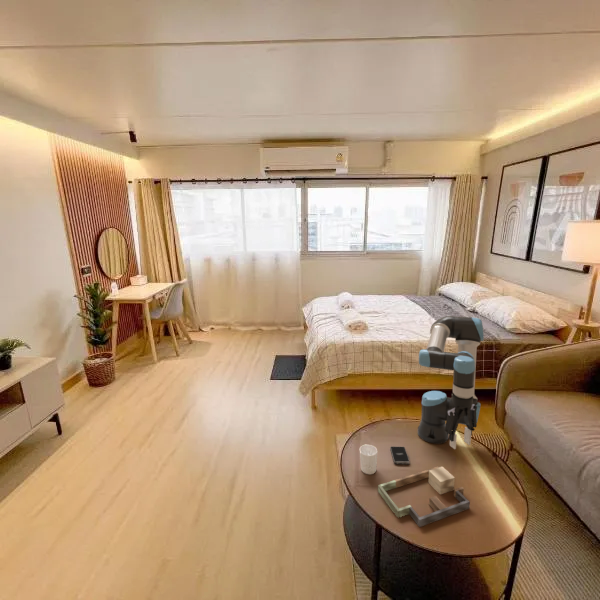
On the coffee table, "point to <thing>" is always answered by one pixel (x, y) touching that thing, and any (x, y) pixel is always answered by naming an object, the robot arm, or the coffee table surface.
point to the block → (441, 480)
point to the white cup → (368, 458)
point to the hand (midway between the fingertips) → (460, 444)
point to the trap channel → (434, 502)
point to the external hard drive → (399, 455)
